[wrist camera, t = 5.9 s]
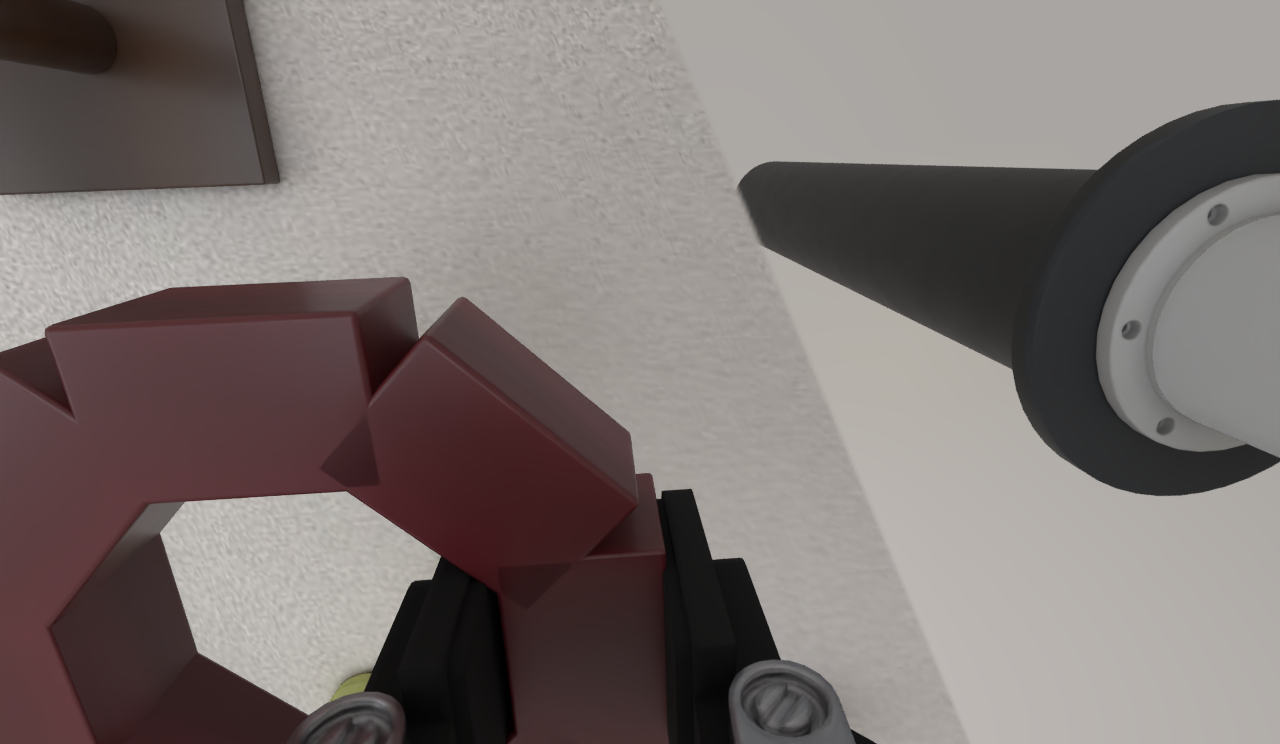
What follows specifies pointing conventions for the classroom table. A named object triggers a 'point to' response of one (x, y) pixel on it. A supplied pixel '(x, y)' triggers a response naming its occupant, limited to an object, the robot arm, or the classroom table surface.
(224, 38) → the peg stand
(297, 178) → the classroom table surface
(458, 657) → the robot arm
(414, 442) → the ring
